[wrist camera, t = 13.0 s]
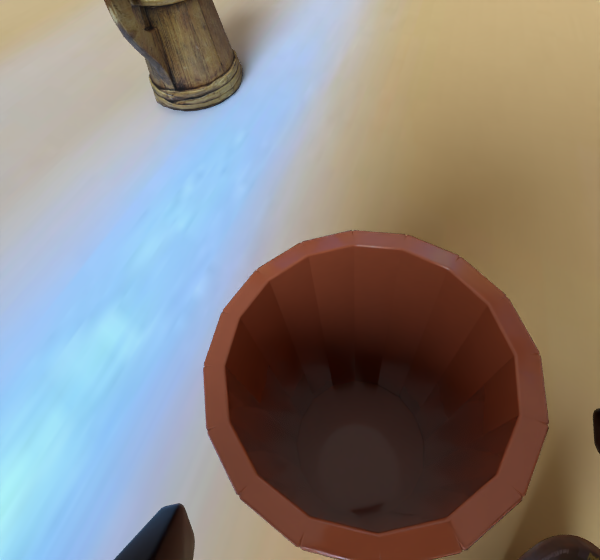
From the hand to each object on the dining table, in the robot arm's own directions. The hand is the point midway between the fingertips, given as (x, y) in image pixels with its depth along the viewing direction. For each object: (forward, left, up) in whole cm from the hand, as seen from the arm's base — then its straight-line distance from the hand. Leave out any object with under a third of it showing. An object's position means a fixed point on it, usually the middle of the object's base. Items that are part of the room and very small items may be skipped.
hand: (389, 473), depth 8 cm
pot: (+2, 0, -11) cm, 11 cm away
